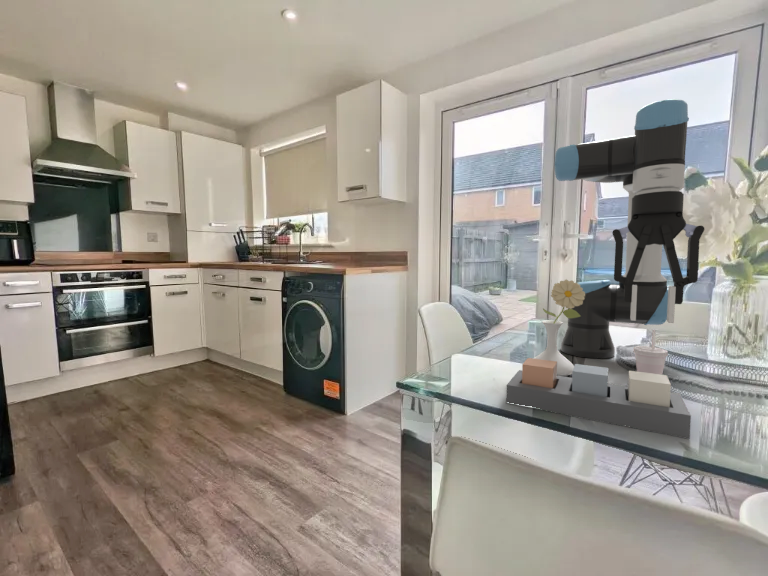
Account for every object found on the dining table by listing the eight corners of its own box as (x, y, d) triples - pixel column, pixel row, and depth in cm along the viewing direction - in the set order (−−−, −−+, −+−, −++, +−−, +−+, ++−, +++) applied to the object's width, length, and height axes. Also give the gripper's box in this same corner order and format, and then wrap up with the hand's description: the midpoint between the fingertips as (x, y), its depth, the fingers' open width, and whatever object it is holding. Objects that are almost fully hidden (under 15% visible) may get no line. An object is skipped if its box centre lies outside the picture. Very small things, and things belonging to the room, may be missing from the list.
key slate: (574, 386, 78) (575, 363, 78) (607, 391, 75) (608, 367, 75) (571, 395, 73) (572, 371, 73) (606, 401, 70) (607, 375, 70)
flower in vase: (524, 376, 95) (527, 280, 94) (531, 365, 105) (533, 277, 103) (582, 384, 89) (585, 281, 87) (583, 371, 99) (586, 278, 97)
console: (518, 386, 88) (518, 370, 87) (678, 413, 72) (679, 393, 71) (506, 403, 77) (506, 384, 77) (689, 438, 62) (690, 415, 61)
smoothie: (672, 396, 80) (675, 333, 79) (639, 394, 82) (642, 332, 81) (656, 386, 87) (659, 328, 86) (626, 385, 88) (629, 327, 87)
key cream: (627, 394, 74) (628, 370, 73) (665, 400, 70) (666, 375, 70) (628, 405, 68) (629, 378, 68) (669, 411, 65) (670, 384, 65)
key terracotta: (527, 379, 83) (527, 357, 83) (556, 383, 80) (557, 361, 80) (522, 387, 78) (522, 364, 78) (552, 392, 75) (553, 368, 75)
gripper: (599, 195, 68) (594, 319, 70) (729, 183, 59) (720, 328, 60) (600, 200, 74) (596, 314, 76) (718, 191, 65) (710, 321, 67)
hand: (651, 320), depth 68 cm, fingers open, 5 cm apart
